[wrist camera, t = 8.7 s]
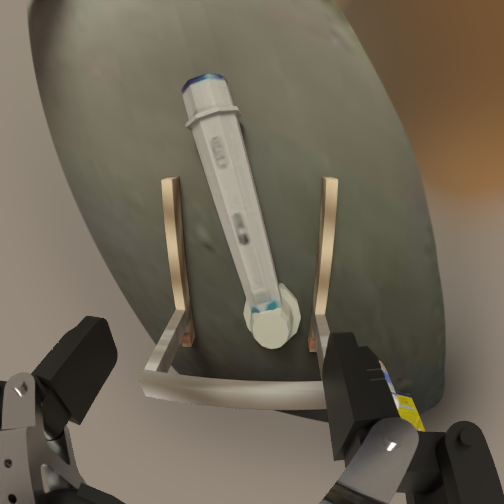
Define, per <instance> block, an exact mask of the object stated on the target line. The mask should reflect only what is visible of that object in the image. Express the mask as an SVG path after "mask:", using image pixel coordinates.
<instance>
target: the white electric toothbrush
mask: <svg viewBox="0 0 504 504" xmlns="http://www.w3.org/2000/svg"><path fill="white" fill-rule="evenodd" d="M181 91H182V95H183V99H184V103H185V107H186V110H187V114H188V118H189V121H188V122H187V123H186V127H187V128H188V129H190V130H192V133H193V136H194V139H195V142H196V145H197V149H198V152H199V155H200V158H201V161H202V165H203V168H204V171H205V174H206V177H207V180H208V184H209V187H210V190H211V193H212V196H213V199H214V202H215V205H216V208H217V211H218V214H219V218H220V221H221V224H222V227H223V230H224V233H225V236H226V239H227V242H228V245H229V248H230V251H231V254H232V257H233V260H234V263H235V266H236V269H237V272H238V274H239V277H240V280H241V283H242V286H243V289H244V292H245V295H246V303H245V309H244V317H245V320H246V323H247V326H248V329H249V330H250V331H251V332H252V334H253V337H254V338H255V339H256V340H257V341H258V342H259V343H260V344H261V345H262V346H263V347H266V348H269V349H274V348H280V347H281V346H282V345H284V344H285V343H286V342H287V341H288V340H289V339H290V338H291V337H292V336H293V335H294V334H295V333H296V332H297V330H298V326H299V323H300V319H301V315H300V311H299V306H298V302H297V299H296V298H295V297H294V296H293V294H292V293H291V292H290V291H289V290H288V288H287V287H286V286H285V285H284V284H282V283H279V282H278V281H277V276H276V272H275V267H274V263H273V259H272V254H271V250H270V246H269V242H268V237H267V233H266V229H265V225H264V221H263V216H262V212H261V208H260V204H259V200H258V196H257V192H256V188H255V184H254V179H253V175H252V171H251V167H250V163H249V159H248V155H247V152H246V148H245V144H244V140H243V136H242V132H241V128H240V124H239V120H238V117H240V116H241V112H240V110H239V109H238V107H237V106H234V103H233V99H232V96H231V93H230V89H229V86H228V83H227V80H226V78H225V76H224V75H223V74H215V73H207V74H204V75H201V76H198V77H195V78H193V79H190V80H188V81H187V83H186V84H185V85H184V86H183V87H182V88H181Z"/></svg>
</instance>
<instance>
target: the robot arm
mask: <svg viewBox="0 0 504 504" xmlns="http://www.w3.org/2000/svg"><path fill="white" fill-rule="evenodd" d="M116 362H117V349H116V346H115V343H114V340H113V337H112V334H111V331H110V328H109V325H108V322H107V321H106V319H104V318H99V317H93V316H86V317H85V318H84V319H83V320H82V321H81V322H80V323H79V324H78V325H77V326H76V327H75V328H73V329H72V330H70V331H68V332H67V333H66V334H65V335H64V336H63V337H62V338H61V339H60V341H59V343H57V344H56V345H55V346H54V347H53V350H51V351H50V352H49V353H48V354H47V355H46V357H45V358H44V359H43V360H42V361H41V363H40V364H39V365H38V366H37V367H36V369H35V370H34V371H33V372H32V373H31V374H29V373H18V374H16V375H14V376H12V377H11V378H10V379H9V380H8V381H6V382H5V381H0V504H125V503H123V502H121V501H120V500H119V499H117V498H115V497H114V496H112V495H110V494H107V493H104V492H102V491H100V490H97V489H95V488H93V487H90V486H88V485H86V483H85V481H84V479H83V478H82V477H81V475H80V473H79V471H78V469H77V466H76V461H75V457H74V453H73V448H72V443H71V438H70V433H69V429H68V427H67V425H66V424H67V423H68V421H71V422H73V423H76V424H78V425H80V424H81V423H82V421H83V419H84V417H85V415H86V414H87V412H88V410H89V408H90V407H91V405H92V403H93V401H94V400H95V398H96V396H97V395H98V393H99V391H100V389H101V388H102V386H103V384H104V383H105V381H106V379H107V378H108V376H109V374H110V373H111V371H112V369H113V368H114V366H115V364H116ZM381 368H382V367H381V365H380V362H379V360H378V358H377V356H376V355H375V354H374V353H373V352H372V351H371V350H370V349H369V348H368V347H367V346H363V347H358V344H357V342H356V339H355V336H354V334H353V333H352V332H341V333H330V334H329V338H328V343H327V348H326V353H325V358H324V363H323V368H322V382H323V388H324V394H325V401H326V407H327V414H328V420H329V427H330V434H331V442H332V448H333V457H334V461H336V460H344V461H345V468H346V469H345V470H344V472H343V473H342V475H341V476H340V477H339V479H338V480H337V482H336V483H335V484H334V486H333V487H332V488H331V489H330V491H329V492H328V493H327V494H326V496H325V497H324V498H323V499H322V501H321V502H320V503H319V504H389V503H390V501H391V499H392V498H393V496H394V494H395V492H401V493H405V494H406V500H407V504H504V494H503V490H502V487H501V483H500V480H499V477H498V474H497V470H496V467H495V464H494V461H493V458H492V456H491V453H490V450H489V448H488V445H487V443H486V440H485V437H484V435H483V433H482V431H481V429H480V428H479V427H478V426H477V425H475V424H474V423H472V422H469V421H460V422H457V423H455V424H453V425H452V426H451V427H450V428H449V429H448V430H447V431H446V432H423V431H418V430H416V428H415V427H414V426H413V425H412V424H411V423H410V422H408V421H407V420H405V419H402V418H401V417H400V415H399V412H398V409H397V407H396V404H395V401H394V398H393V396H392V393H391V390H390V388H389V385H388V383H387V380H385V375H384V372H383V370H381Z"/></svg>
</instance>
